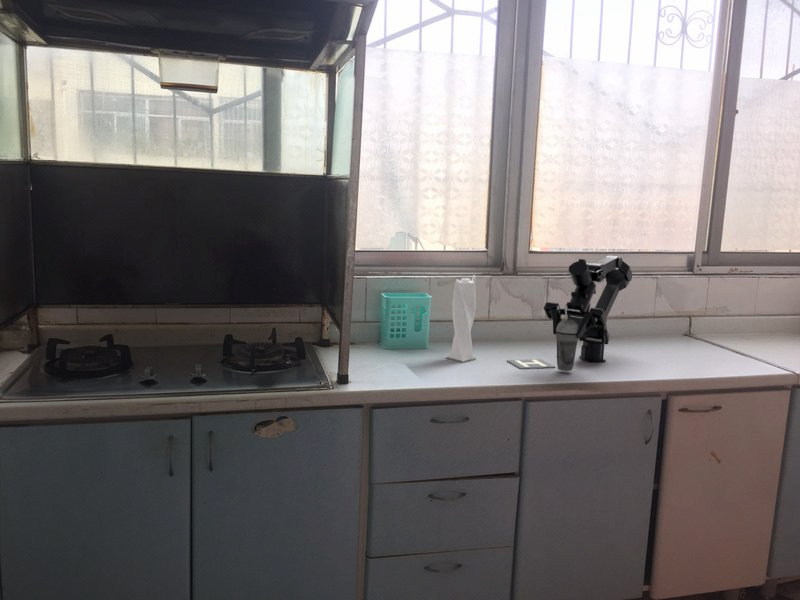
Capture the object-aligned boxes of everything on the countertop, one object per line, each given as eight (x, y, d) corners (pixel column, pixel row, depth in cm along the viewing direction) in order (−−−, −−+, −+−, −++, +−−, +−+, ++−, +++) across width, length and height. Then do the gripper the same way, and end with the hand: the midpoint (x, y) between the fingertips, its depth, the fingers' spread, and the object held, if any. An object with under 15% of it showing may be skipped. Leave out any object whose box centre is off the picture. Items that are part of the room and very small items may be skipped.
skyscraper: (479, 360, 223) (484, 274, 219) (464, 364, 217) (469, 276, 213) (459, 355, 228) (463, 271, 224) (443, 359, 223) (448, 273, 218)
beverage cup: (577, 373, 206) (582, 307, 203) (552, 371, 208) (557, 305, 205) (576, 367, 213) (581, 303, 210) (552, 365, 215) (557, 302, 212)
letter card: (540, 360, 226) (540, 358, 226) (555, 367, 216) (555, 366, 216) (506, 361, 223) (506, 360, 223) (520, 369, 213) (520, 367, 213)
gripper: (616, 315, 215) (600, 356, 208) (560, 307, 226) (543, 346, 219) (609, 293, 207) (593, 334, 200) (552, 286, 218) (534, 325, 211)
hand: (565, 335), depth 208 cm, fingers closed on beverage cup, 7 cm apart
